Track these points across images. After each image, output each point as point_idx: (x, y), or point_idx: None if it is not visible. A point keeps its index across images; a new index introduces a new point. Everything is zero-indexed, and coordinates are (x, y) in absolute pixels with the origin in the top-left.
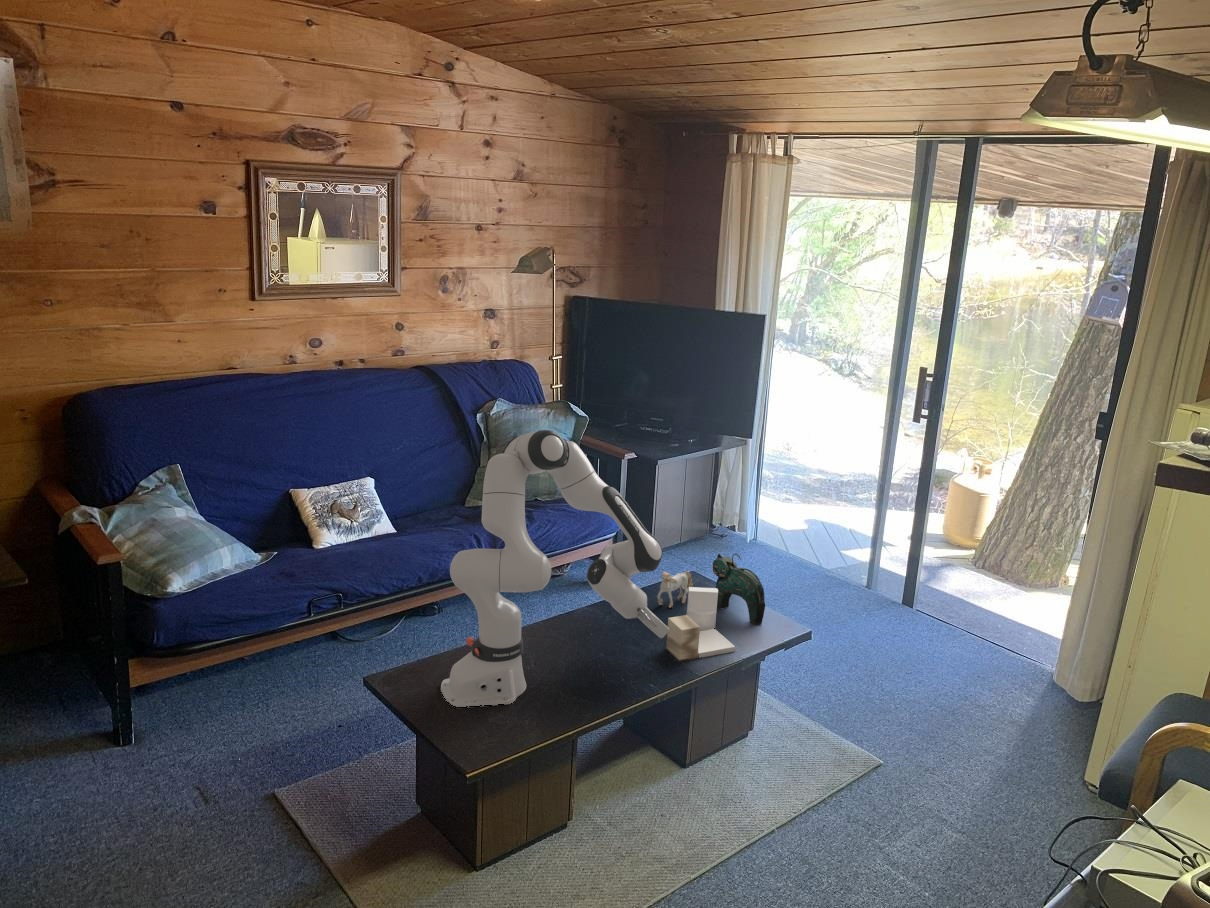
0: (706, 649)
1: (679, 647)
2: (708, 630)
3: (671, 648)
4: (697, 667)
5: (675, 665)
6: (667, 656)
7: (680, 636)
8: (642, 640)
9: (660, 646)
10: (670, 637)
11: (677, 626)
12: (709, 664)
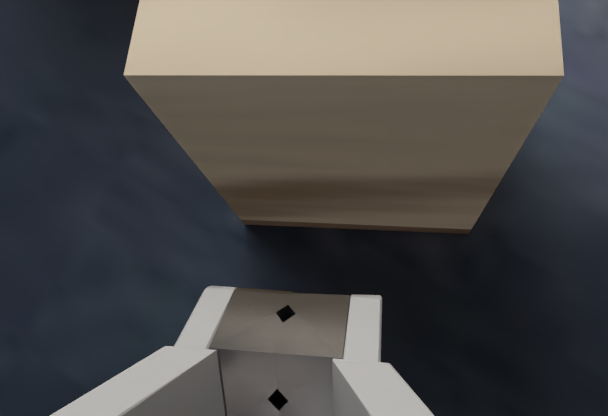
0: None
1: (478, 189)
2: None
3: (321, 213)
4: (602, 147)
5: (517, 293)
6: (353, 277)
7: (518, 132)
8: (42, 329)
9: (190, 246)
10: (275, 179)
11: (420, 75)
12: (582, 49)
